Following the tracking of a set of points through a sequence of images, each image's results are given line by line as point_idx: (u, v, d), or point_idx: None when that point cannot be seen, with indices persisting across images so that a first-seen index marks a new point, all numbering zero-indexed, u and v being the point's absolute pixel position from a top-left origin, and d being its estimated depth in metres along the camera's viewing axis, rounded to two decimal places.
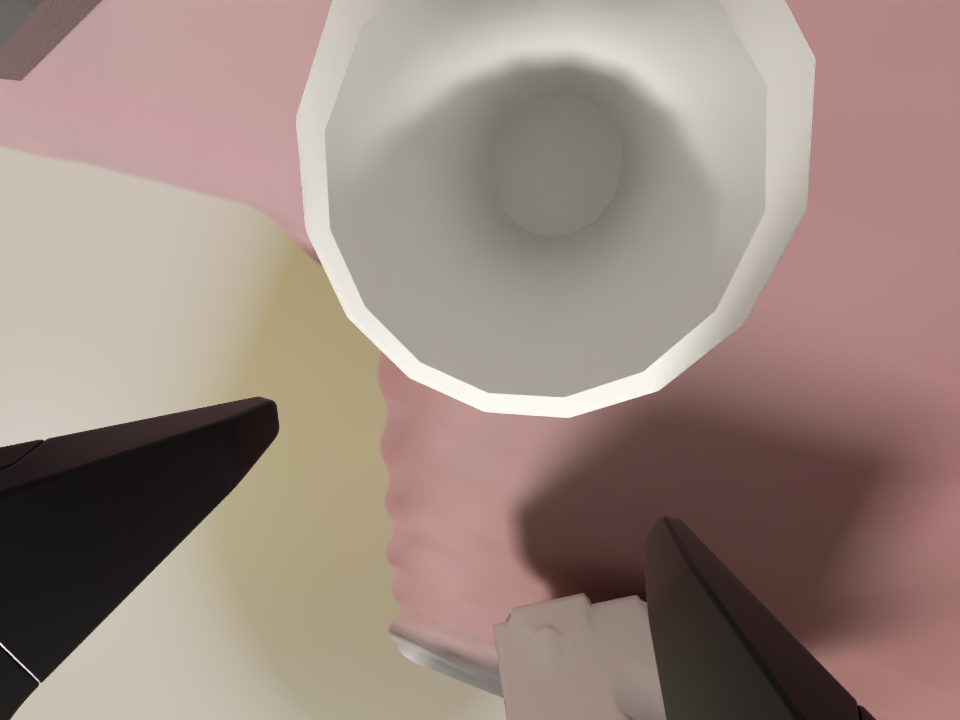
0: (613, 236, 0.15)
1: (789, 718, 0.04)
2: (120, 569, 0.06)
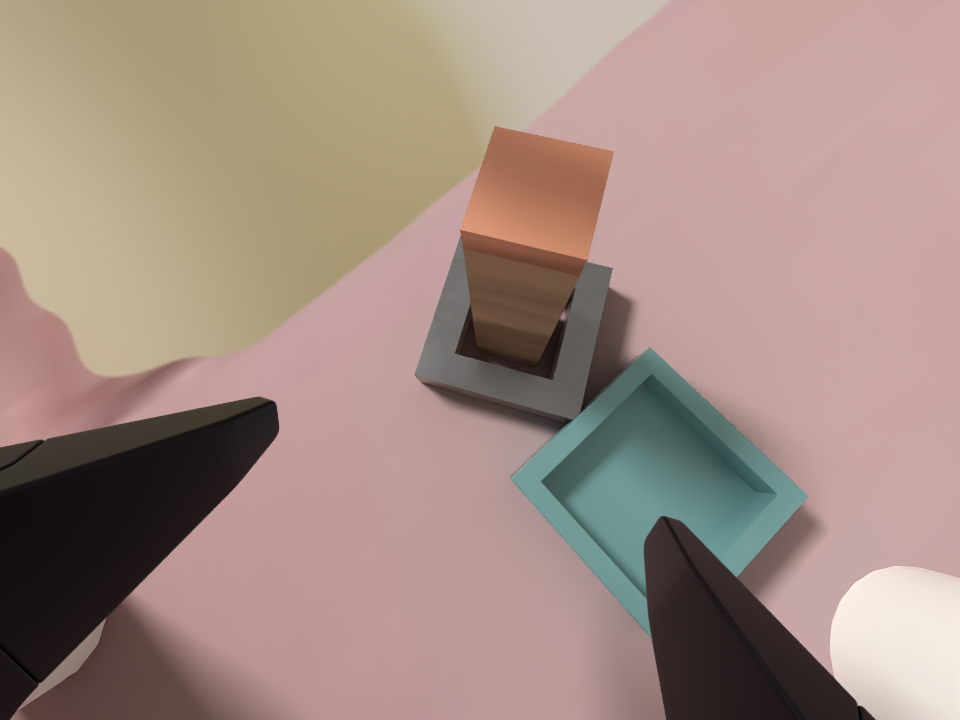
0: None
1: (790, 718, 0.04)
2: (120, 569, 0.06)
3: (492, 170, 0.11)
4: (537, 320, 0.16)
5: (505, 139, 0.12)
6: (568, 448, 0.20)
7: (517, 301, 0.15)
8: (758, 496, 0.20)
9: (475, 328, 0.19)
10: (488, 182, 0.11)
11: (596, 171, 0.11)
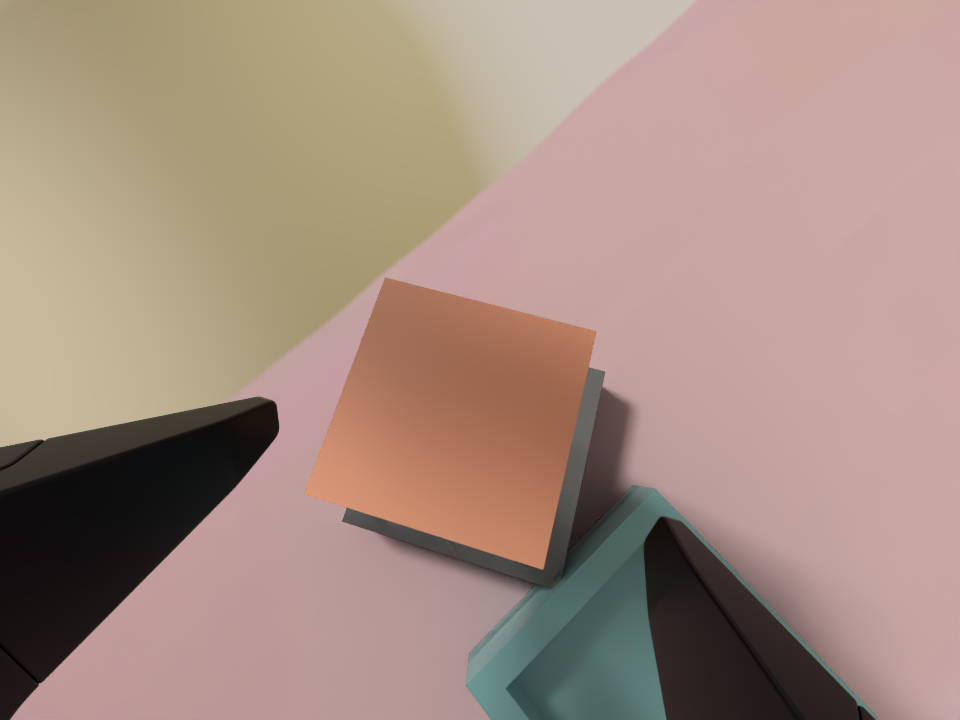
0: None
1: (789, 718, 0.04)
2: (120, 569, 0.06)
3: (374, 366, 0.06)
4: None
5: (403, 303, 0.07)
6: (544, 638, 0.14)
7: None
8: None
9: None
10: (365, 391, 0.06)
11: (564, 373, 0.06)
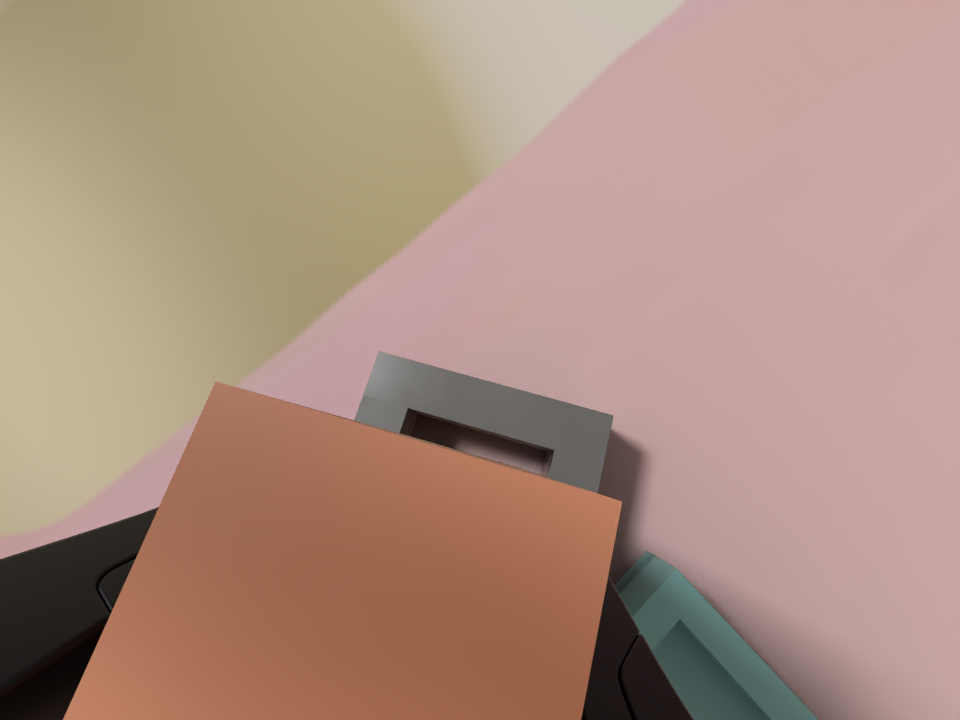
0: None
1: None
2: None
3: (175, 572, 0.03)
4: None
5: (244, 435, 0.03)
6: None
7: None
8: None
9: None
10: (150, 631, 0.03)
11: (556, 598, 0.03)
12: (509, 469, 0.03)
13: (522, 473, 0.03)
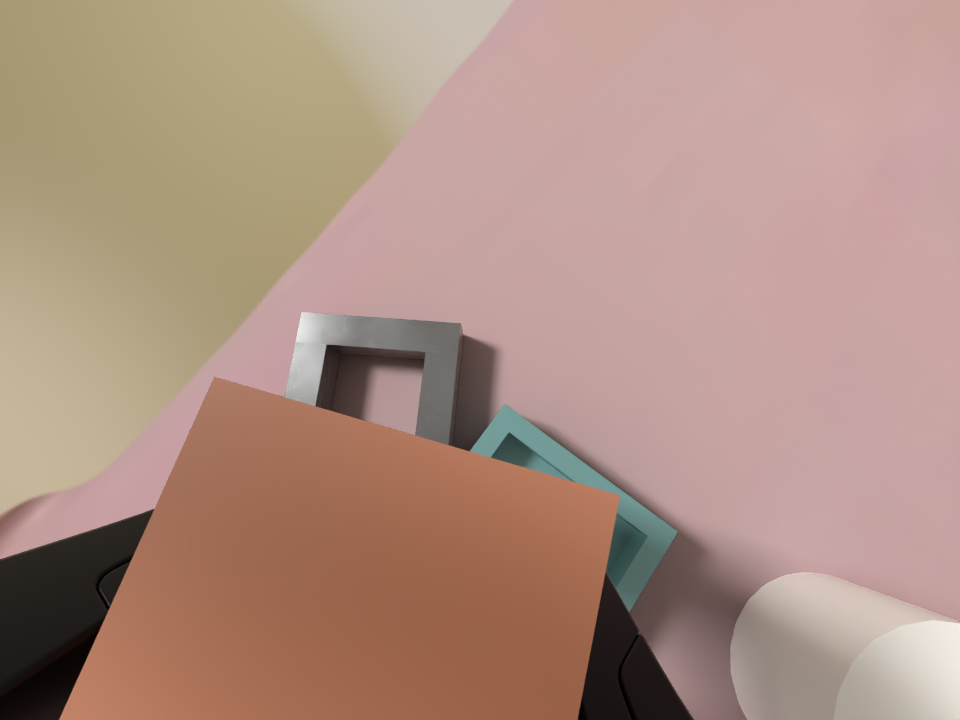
0: None
1: None
2: None
3: (174, 566, 0.03)
4: None
5: (243, 430, 0.03)
6: None
7: None
8: (636, 535, 0.19)
9: None
10: (149, 625, 0.03)
11: (555, 590, 0.03)
12: (507, 463, 0.03)
13: (520, 467, 0.03)
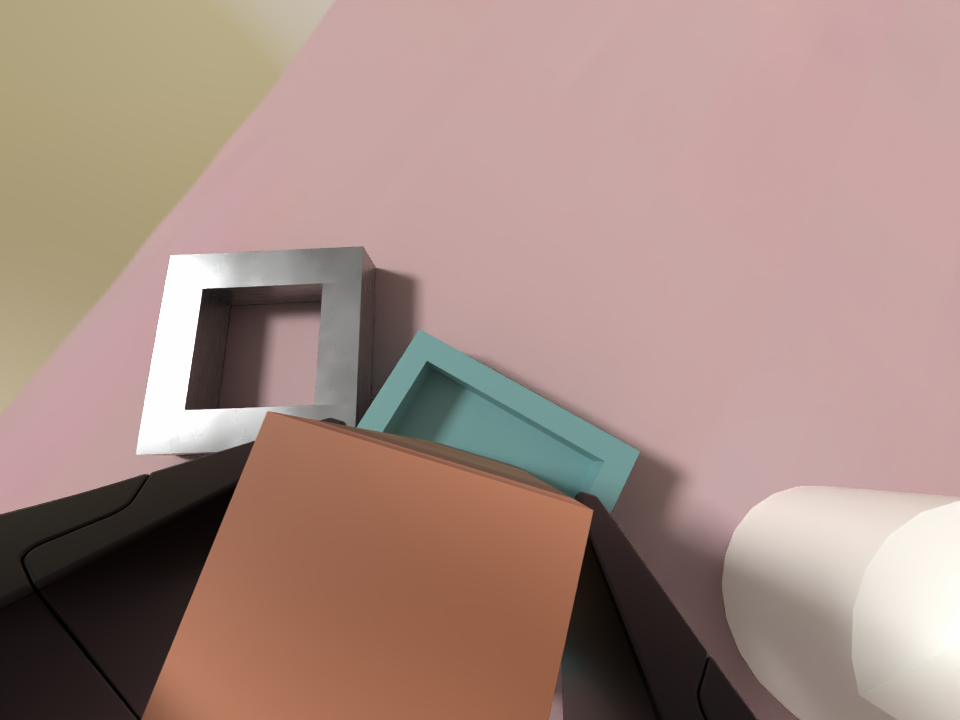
0: None
1: (633, 666, 0.05)
2: None
3: (241, 564, 0.04)
4: None
5: (292, 455, 0.04)
6: None
7: None
8: (594, 466, 0.16)
9: None
10: (223, 609, 0.04)
11: (540, 585, 0.04)
12: (504, 484, 0.04)
13: (514, 487, 0.04)
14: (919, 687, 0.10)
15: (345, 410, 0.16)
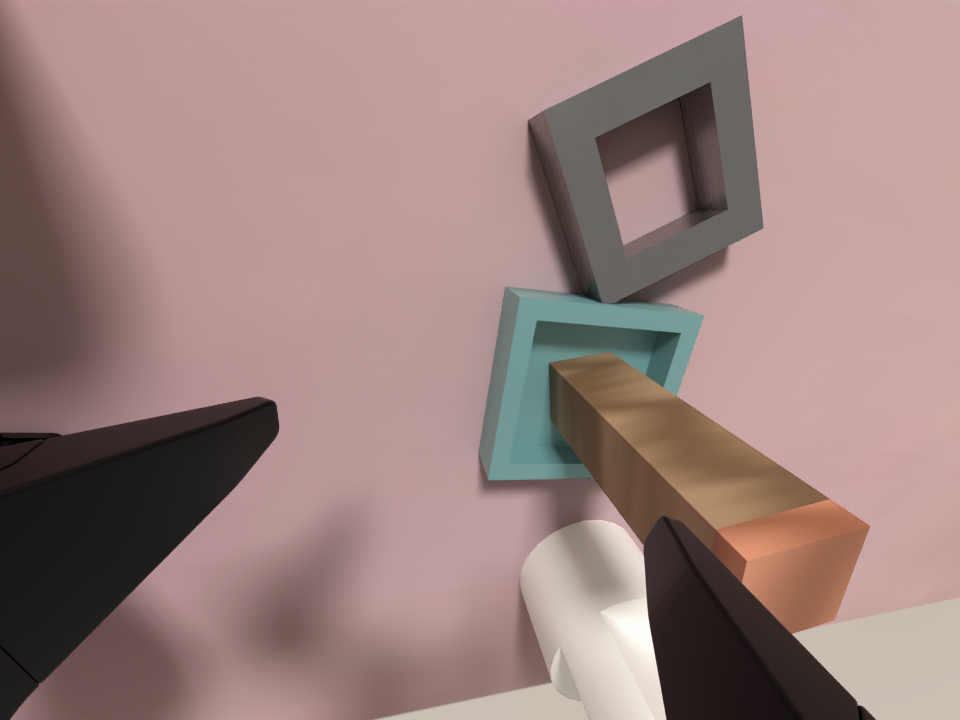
0: None
1: (790, 718, 0.04)
2: (120, 569, 0.06)
3: (816, 549, 0.10)
4: (621, 500, 0.15)
5: (853, 542, 0.10)
6: (579, 319, 0.19)
7: (644, 506, 0.14)
8: None
9: (585, 400, 0.17)
10: (802, 553, 0.10)
11: (813, 620, 0.11)
12: (842, 598, 0.11)
13: (841, 600, 0.11)
14: (616, 628, 0.22)
15: (628, 286, 0.19)
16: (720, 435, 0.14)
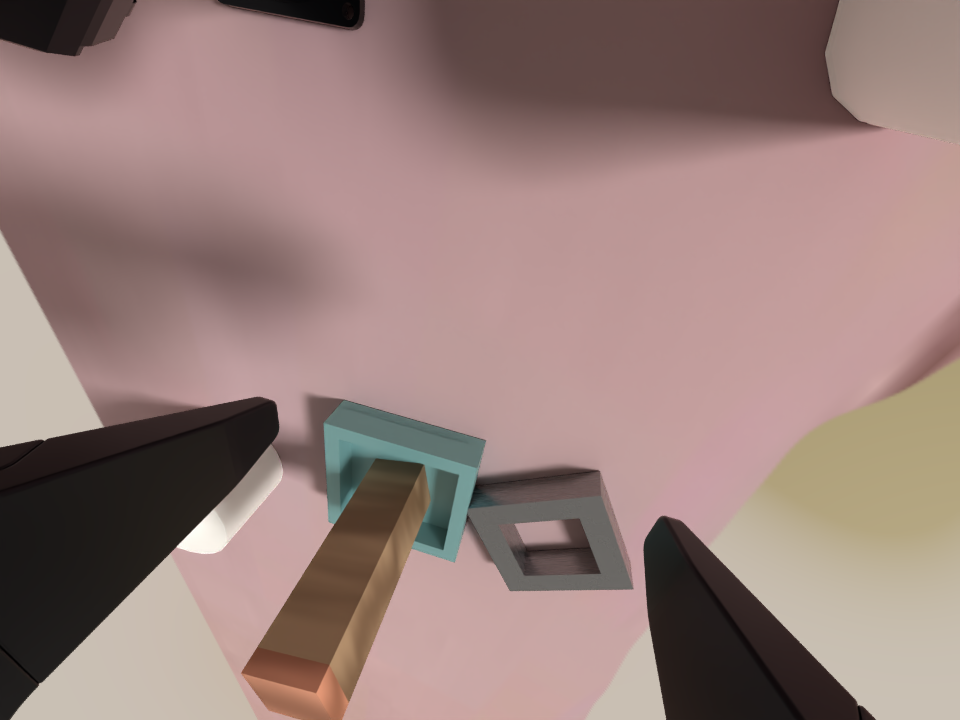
0: None
1: (789, 718, 0.04)
2: (120, 569, 0.06)
3: (322, 713, 0.17)
4: (326, 559, 0.21)
5: None
6: (457, 498, 0.25)
7: (327, 587, 0.20)
8: None
9: (398, 516, 0.23)
10: (319, 709, 0.17)
11: (269, 704, 0.18)
12: None
13: (283, 714, 0.18)
14: None
15: (478, 523, 0.27)
16: (378, 620, 0.21)
